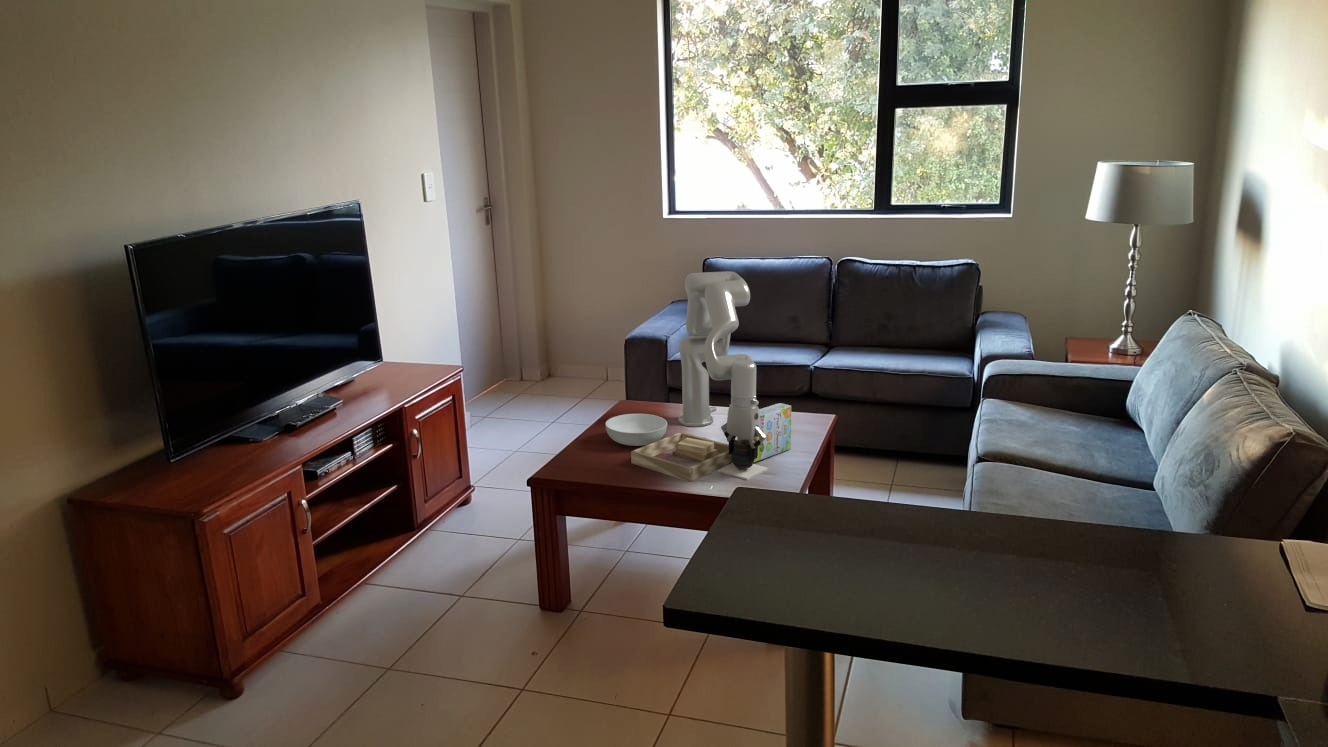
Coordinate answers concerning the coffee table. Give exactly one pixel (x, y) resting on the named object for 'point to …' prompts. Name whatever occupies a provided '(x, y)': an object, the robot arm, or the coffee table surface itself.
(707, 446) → the slat pine
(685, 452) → the slat oak
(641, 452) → the tray
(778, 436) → the snack box
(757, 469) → the mat
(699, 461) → the slat walnut
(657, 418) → the serving bowl
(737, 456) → the mate gourd
